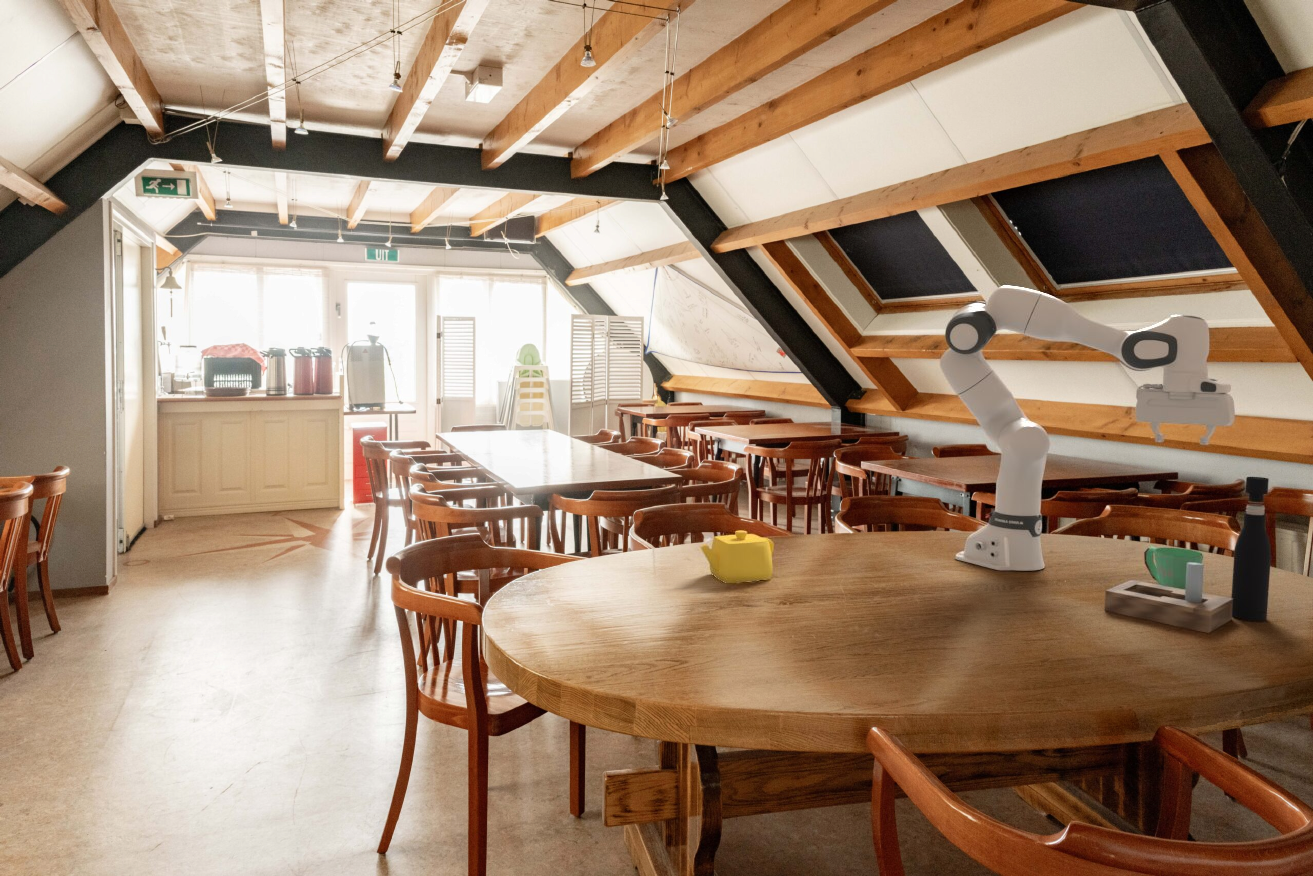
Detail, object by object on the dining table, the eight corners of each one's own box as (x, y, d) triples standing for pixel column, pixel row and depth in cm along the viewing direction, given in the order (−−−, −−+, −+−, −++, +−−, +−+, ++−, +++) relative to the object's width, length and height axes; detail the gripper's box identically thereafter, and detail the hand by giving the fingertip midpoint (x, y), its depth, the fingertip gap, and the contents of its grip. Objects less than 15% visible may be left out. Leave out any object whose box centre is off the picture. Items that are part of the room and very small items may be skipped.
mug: (1211, 598, 195) (1214, 555, 194) (1174, 600, 193) (1177, 557, 192) (1162, 582, 210) (1164, 542, 209) (1127, 584, 208) (1129, 544, 207)
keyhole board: (1104, 610, 186) (1105, 590, 185) (1130, 599, 195) (1131, 579, 194) (1208, 633, 171) (1210, 611, 170) (1231, 619, 180) (1233, 598, 179)
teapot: (709, 587, 205) (710, 539, 204) (691, 574, 217) (691, 529, 216) (784, 580, 212) (784, 533, 211) (762, 568, 223) (762, 524, 222)
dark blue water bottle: (1256, 623, 177) (1265, 480, 174) (1223, 615, 182) (1232, 477, 180) (1273, 619, 180) (1282, 478, 177) (1240, 611, 185) (1249, 475, 183)
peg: (1172, 619, 180) (1175, 563, 179) (1182, 614, 183) (1185, 559, 182) (1201, 625, 175) (1205, 568, 174) (1212, 620, 179) (1215, 564, 178)
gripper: (1131, 383, 205) (1128, 440, 206) (1230, 385, 189) (1226, 447, 190) (1142, 383, 209) (1139, 439, 210) (1239, 385, 193) (1235, 445, 194)
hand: (1181, 443), depth 200 cm, fingers open, 8 cm apart
